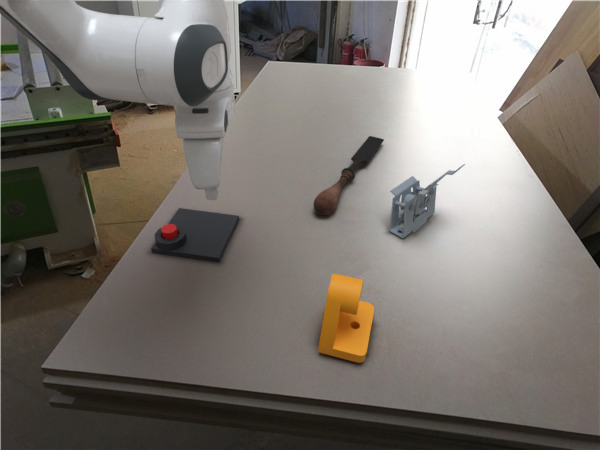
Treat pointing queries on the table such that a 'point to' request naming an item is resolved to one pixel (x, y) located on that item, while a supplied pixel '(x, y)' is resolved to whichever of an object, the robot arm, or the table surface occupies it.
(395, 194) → the bracket
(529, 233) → the table surface
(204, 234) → the scale
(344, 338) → the bracket
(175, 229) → the button
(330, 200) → the chisel
